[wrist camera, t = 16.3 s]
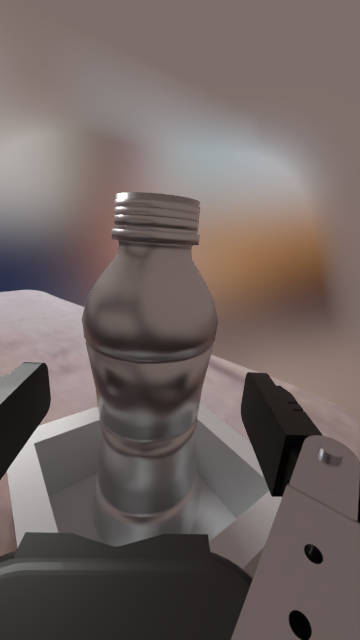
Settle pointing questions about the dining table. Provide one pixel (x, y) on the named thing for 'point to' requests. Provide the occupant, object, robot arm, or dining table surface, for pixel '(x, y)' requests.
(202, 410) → the bin
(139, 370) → the plastic bottle
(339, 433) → the dining table surface
